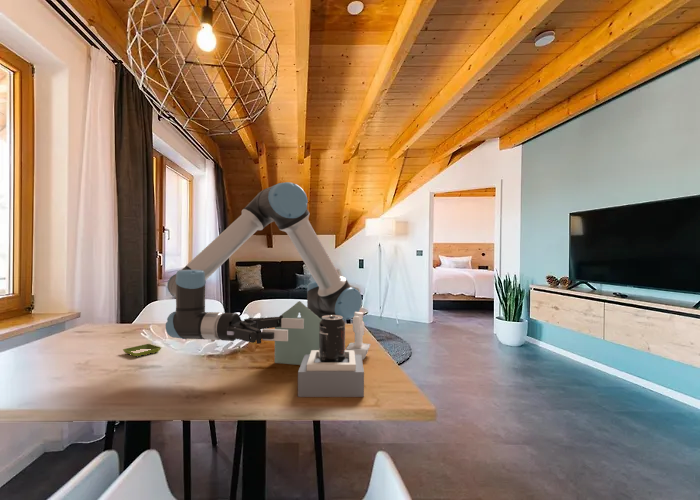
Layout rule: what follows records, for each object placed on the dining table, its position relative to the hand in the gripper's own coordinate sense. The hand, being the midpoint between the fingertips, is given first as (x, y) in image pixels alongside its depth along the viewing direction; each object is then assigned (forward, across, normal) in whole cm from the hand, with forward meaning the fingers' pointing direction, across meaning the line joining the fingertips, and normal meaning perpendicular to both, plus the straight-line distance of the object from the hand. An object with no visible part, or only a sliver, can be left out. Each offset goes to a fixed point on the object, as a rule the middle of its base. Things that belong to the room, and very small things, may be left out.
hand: (296, 329), depth 91 cm
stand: (+10, 0, -14) cm, 17 cm away
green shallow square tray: (-60, -16, -15) cm, 64 cm away
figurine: (+14, -25, -15) cm, 32 cm away
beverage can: (+10, 0, -8) cm, 13 cm away
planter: (-3, -18, -15) cm, 23 cm away
